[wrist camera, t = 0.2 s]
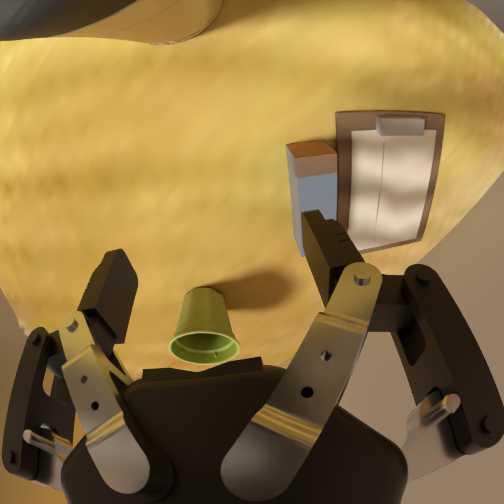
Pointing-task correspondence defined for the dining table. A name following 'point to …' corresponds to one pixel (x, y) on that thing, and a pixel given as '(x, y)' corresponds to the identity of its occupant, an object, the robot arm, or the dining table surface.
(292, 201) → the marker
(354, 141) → the clipboard
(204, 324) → the plant pot
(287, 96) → the dining table surface
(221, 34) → the dining table surface
